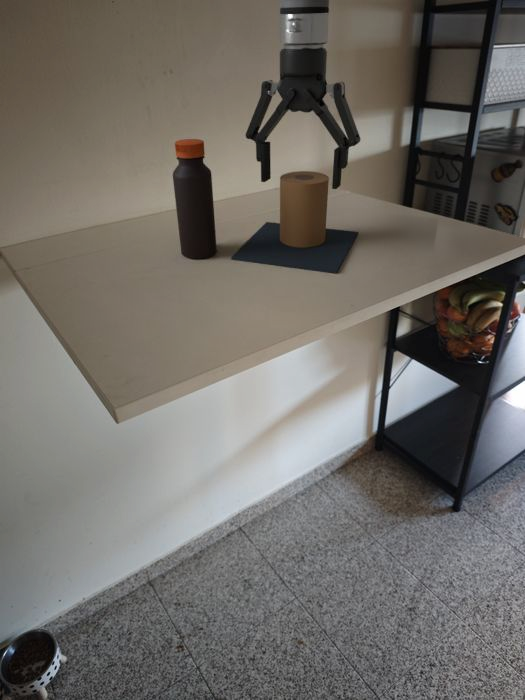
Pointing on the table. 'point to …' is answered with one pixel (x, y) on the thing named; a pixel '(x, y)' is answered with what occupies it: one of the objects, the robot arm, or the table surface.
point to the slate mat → (297, 250)
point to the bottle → (194, 200)
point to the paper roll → (303, 208)
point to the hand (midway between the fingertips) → (300, 183)
